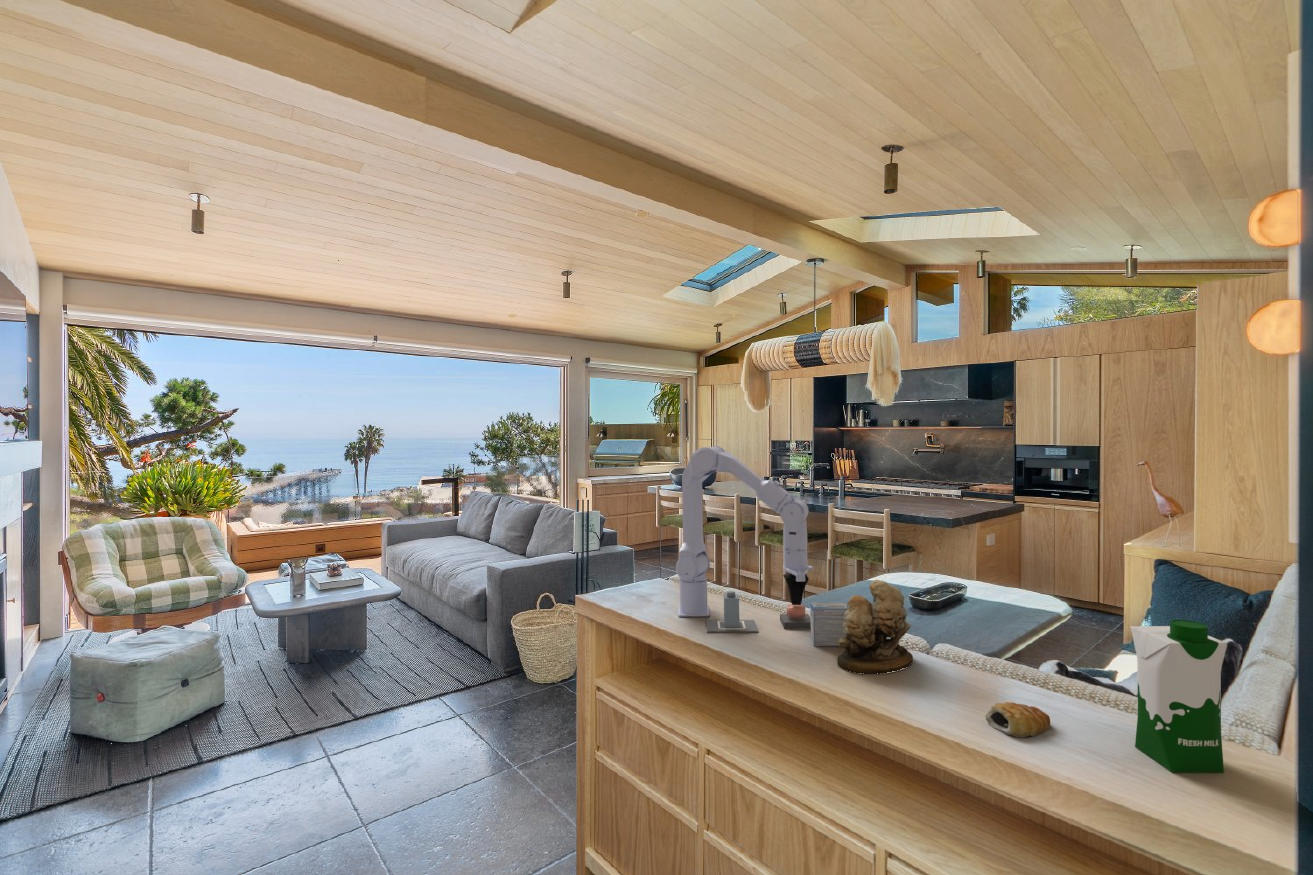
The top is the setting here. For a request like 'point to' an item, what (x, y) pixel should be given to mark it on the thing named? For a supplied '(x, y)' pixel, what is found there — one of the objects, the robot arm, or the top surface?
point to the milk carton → (1179, 696)
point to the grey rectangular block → (731, 610)
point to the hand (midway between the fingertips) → (796, 604)
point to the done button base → (795, 621)
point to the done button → (796, 611)
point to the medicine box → (827, 623)
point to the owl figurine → (875, 632)
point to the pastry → (1018, 719)
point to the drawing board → (719, 627)
